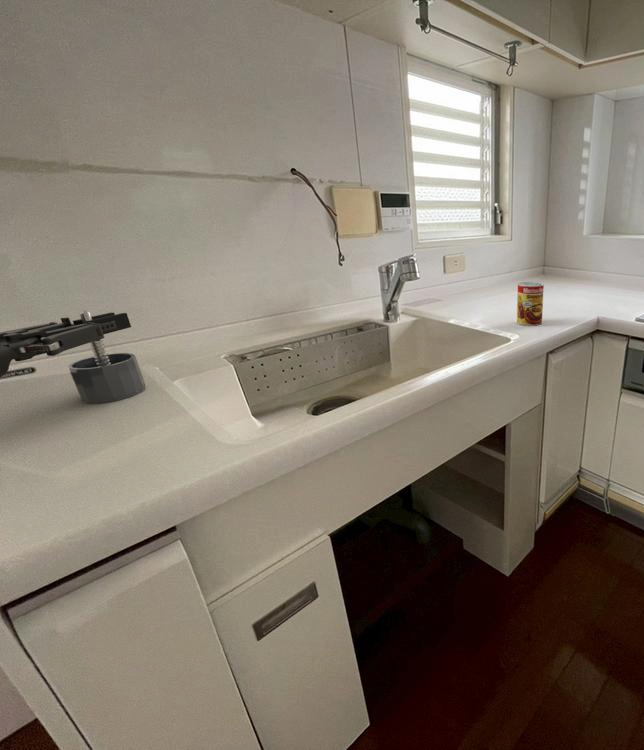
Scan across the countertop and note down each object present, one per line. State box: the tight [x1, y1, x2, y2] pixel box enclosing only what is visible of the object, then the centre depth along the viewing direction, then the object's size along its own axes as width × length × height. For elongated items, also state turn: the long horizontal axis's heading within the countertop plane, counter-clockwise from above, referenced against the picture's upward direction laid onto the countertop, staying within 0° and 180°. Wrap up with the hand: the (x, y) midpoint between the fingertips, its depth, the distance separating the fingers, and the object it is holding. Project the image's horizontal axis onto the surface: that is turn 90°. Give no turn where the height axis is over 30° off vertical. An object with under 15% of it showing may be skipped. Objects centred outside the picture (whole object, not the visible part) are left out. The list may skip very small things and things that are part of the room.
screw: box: [78, 310, 112, 367], centre depth 71 cm, size 13×5×5 cm
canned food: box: [516, 281, 545, 327], centre depth 124 cm, size 8×8×12 cm
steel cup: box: [67, 352, 147, 405], centre depth 73 cm, size 9×9×6 cm
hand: (120, 319), depth 75 cm, fingers closed on screw, 2 cm apart
